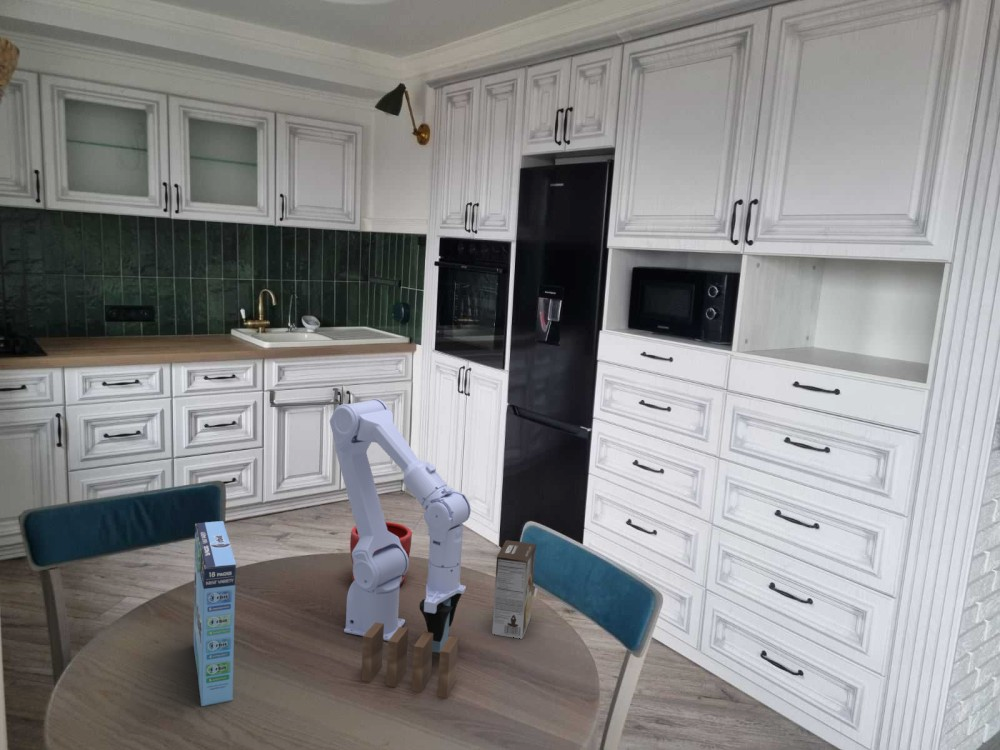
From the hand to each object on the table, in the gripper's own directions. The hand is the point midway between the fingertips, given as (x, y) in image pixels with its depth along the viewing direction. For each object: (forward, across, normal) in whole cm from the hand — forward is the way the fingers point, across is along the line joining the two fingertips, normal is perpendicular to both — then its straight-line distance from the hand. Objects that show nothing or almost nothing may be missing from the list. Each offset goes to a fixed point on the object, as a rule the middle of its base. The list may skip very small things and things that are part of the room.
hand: (440, 632), depth 129 cm
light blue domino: (+2, 0, 0) cm, 2 cm away
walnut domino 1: (+4, -10, +9) cm, 14 cm away
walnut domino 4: (+4, -10, -5) cm, 11 cm away
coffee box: (+4, +15, -10) cm, 19 cm away
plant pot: (+5, +24, +22) cm, 33 cm away
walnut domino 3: (+4, -10, 0) cm, 10 cm away
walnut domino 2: (+4, -10, +4) cm, 11 cm away
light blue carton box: (+5, -18, +34) cm, 39 cm away
